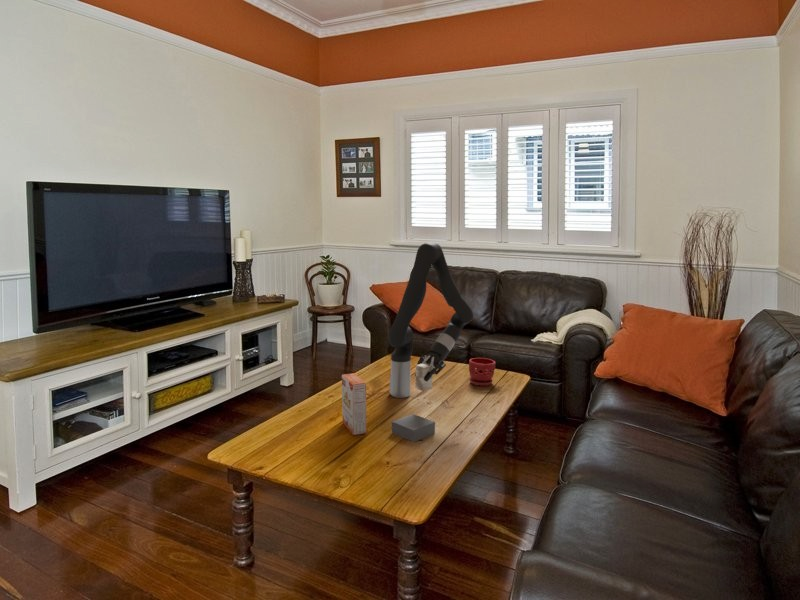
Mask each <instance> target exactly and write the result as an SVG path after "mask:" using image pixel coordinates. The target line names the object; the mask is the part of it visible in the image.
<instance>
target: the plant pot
mask: <svg viewBox="0 0 800 600" xmlns="http://www.w3.org/2000/svg"><path fill="white" fill-rule="evenodd" d="M495 369H496V361H495V360H493V359H491V358H486V357H474V358H472V357H471V358H470V359H469V362H468V371H469V375H470V378H469V382H470V383H471V384H473V385H475V386H479V385H480V387H481V386H483V387H486V386H489V385H491V384H492V383H493V376H494V374H495V371H496V370H495Z"/></svg>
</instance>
